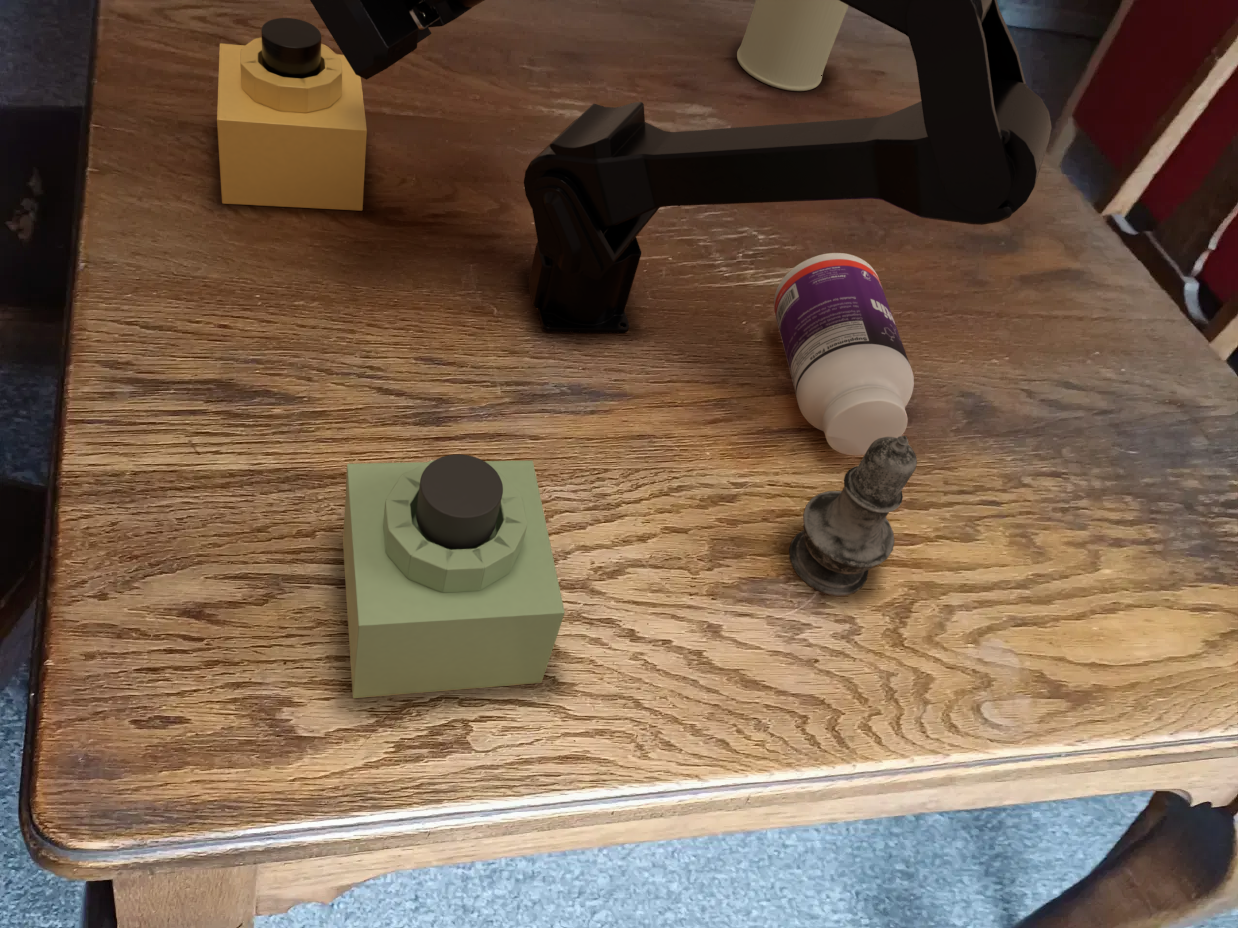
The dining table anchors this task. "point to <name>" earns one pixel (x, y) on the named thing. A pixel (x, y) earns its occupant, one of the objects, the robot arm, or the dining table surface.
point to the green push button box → (445, 588)
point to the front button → (458, 501)
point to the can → (790, 41)
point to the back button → (291, 48)
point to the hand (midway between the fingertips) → (343, 27)
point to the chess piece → (853, 520)
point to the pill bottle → (844, 351)
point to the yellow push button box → (290, 133)
